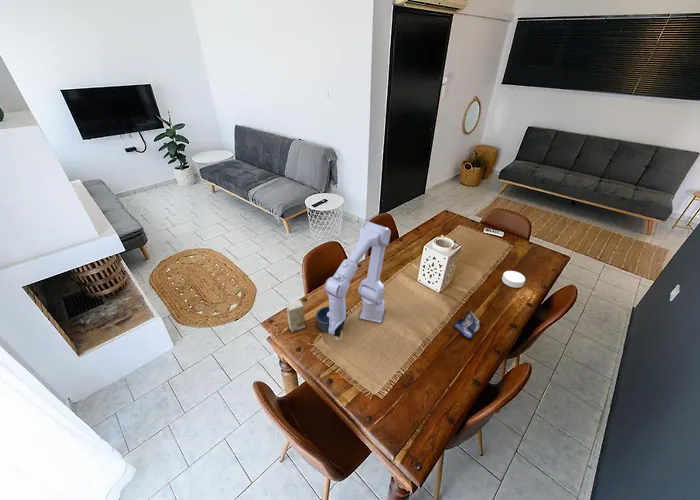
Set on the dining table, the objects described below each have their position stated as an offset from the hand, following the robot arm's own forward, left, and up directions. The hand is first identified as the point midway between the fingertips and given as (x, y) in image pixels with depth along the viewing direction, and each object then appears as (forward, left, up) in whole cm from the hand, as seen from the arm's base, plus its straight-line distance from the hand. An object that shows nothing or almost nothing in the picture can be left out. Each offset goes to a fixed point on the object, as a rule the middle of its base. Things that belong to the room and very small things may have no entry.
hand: (338, 332), depth 115 cm
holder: (+8, -10, -7) cm, 15 cm away
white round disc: (-71, -61, -8) cm, 94 cm away
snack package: (-49, -23, -8) cm, 55 cm away
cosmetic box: (+20, -5, -8) cm, 22 cm away
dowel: (0, 0, -3) cm, 3 cm away
